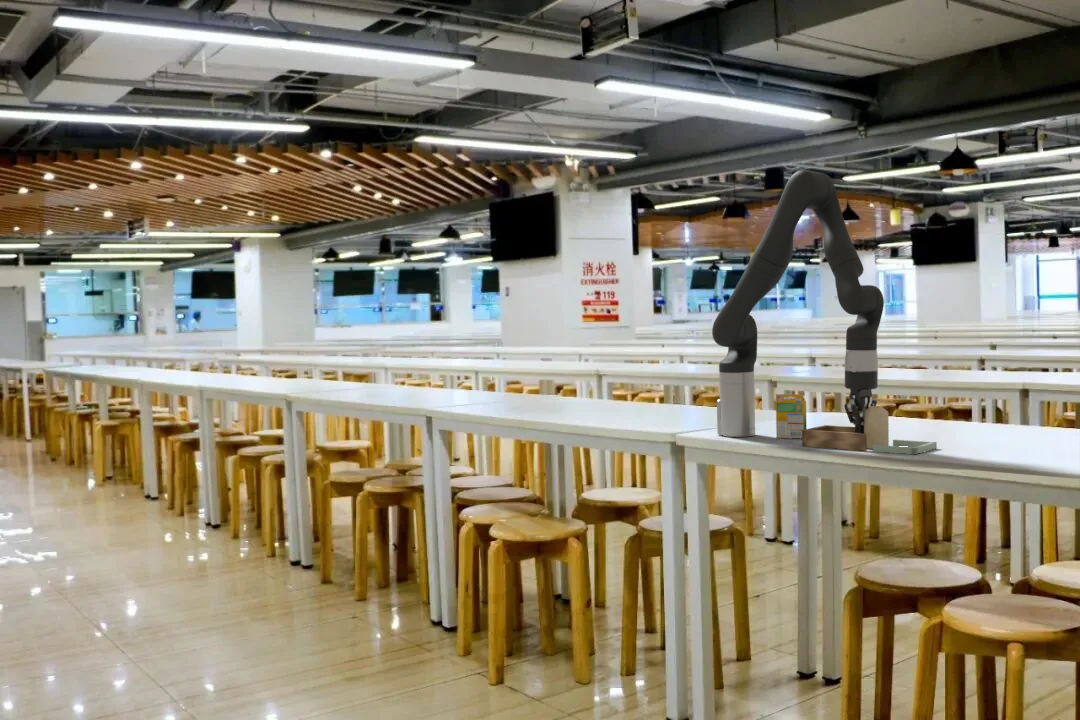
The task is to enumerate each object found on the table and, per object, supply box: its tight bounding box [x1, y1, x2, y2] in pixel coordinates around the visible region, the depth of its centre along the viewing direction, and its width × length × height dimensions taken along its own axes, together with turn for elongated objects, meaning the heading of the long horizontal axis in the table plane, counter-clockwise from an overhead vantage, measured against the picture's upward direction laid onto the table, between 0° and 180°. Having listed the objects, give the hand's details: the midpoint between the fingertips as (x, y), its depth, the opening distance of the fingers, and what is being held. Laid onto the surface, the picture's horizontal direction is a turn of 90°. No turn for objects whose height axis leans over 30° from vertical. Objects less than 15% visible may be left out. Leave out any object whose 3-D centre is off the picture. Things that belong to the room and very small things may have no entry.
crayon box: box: [775, 393, 808, 440], centre depth 252 cm, size 7×3×12 cm, turn 62°
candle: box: [864, 405, 890, 450], centre depth 229 cm, size 6×6×10 cm
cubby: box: [801, 424, 868, 452], centre depth 235 cm, size 16×12×4 cm
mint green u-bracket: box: [872, 439, 938, 455], centre depth 224 cm, size 10×12×2 cm
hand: (860, 440), depth 232 cm, fingers closed
